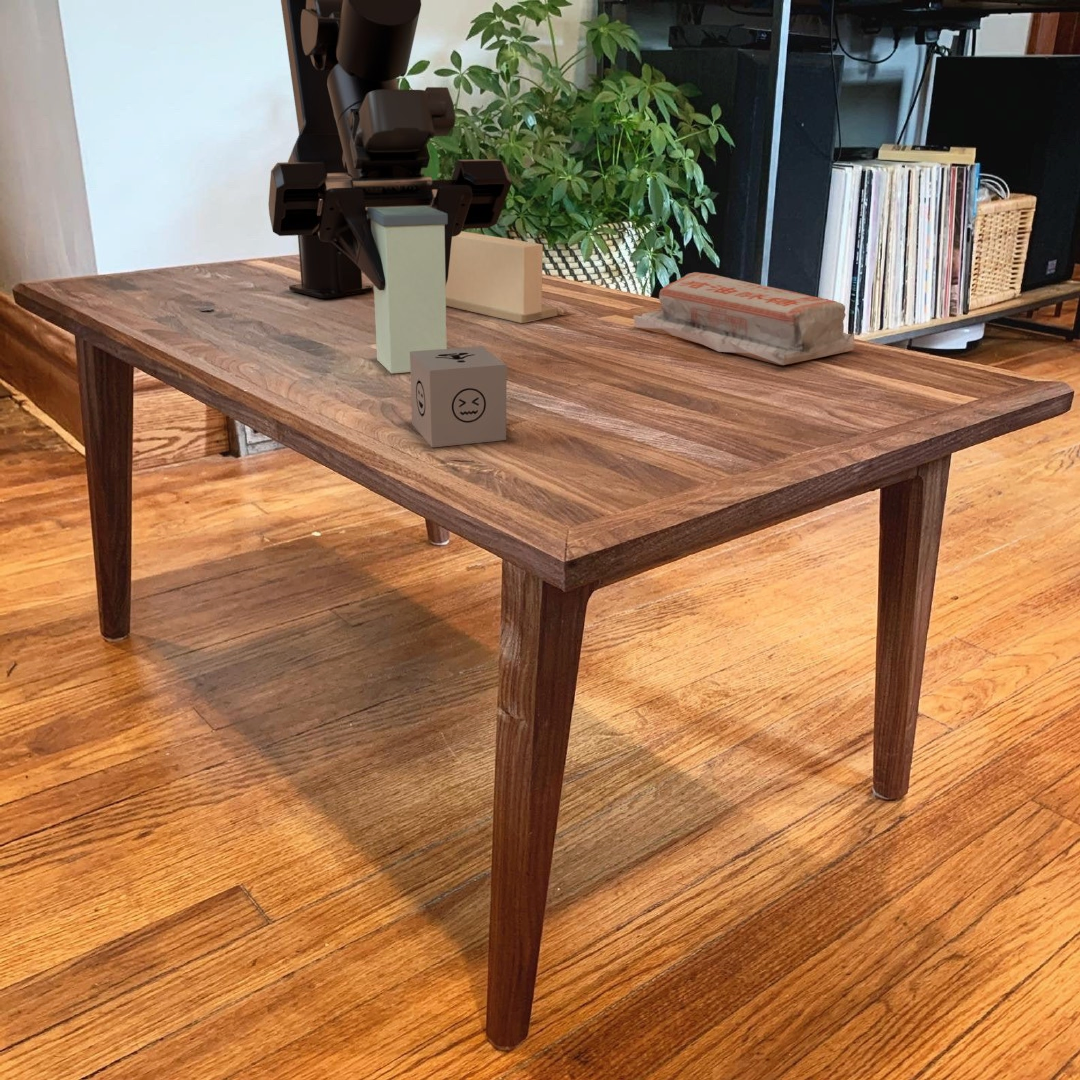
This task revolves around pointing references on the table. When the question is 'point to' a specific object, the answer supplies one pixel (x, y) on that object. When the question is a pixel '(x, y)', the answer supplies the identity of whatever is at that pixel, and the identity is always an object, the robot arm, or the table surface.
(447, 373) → the dice cube
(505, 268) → the wall
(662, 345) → the table surface
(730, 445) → the table surface
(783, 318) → the packaged product
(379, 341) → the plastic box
